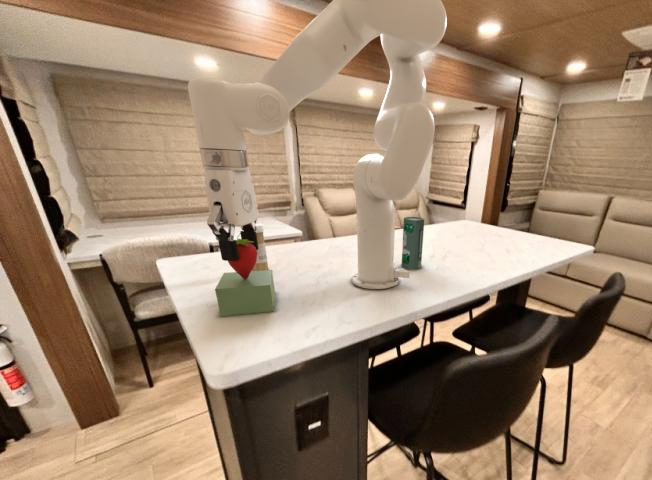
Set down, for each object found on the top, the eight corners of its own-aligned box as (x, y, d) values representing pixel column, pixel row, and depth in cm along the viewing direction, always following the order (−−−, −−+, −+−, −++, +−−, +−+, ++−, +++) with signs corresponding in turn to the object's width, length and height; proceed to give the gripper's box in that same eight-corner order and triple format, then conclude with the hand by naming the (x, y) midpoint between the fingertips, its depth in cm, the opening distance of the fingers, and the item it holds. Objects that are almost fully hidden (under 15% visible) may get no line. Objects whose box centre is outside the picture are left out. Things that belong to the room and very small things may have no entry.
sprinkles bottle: (266, 268, 90) (259, 222, 85) (271, 273, 87) (265, 225, 82) (249, 271, 88) (241, 223, 82) (254, 276, 84) (246, 226, 79)
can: (402, 263, 101) (404, 216, 95) (421, 264, 101) (424, 217, 95) (400, 268, 96) (403, 219, 90) (420, 270, 95) (424, 220, 89)
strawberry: (263, 271, 70) (255, 227, 66) (259, 283, 63) (251, 234, 59) (234, 273, 68) (224, 228, 64) (227, 285, 62) (216, 236, 58)
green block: (275, 293, 74) (272, 269, 72) (273, 311, 65) (270, 285, 63) (228, 297, 71) (223, 272, 69) (220, 316, 62) (214, 289, 60)
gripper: (219, 161, 49) (238, 268, 56) (266, 162, 65) (276, 245, 72) (172, 159, 49) (197, 266, 56) (230, 160, 65) (244, 244, 72)
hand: (241, 254), depth 64 cm, fingers closed on strawberry, 7 cm apart
